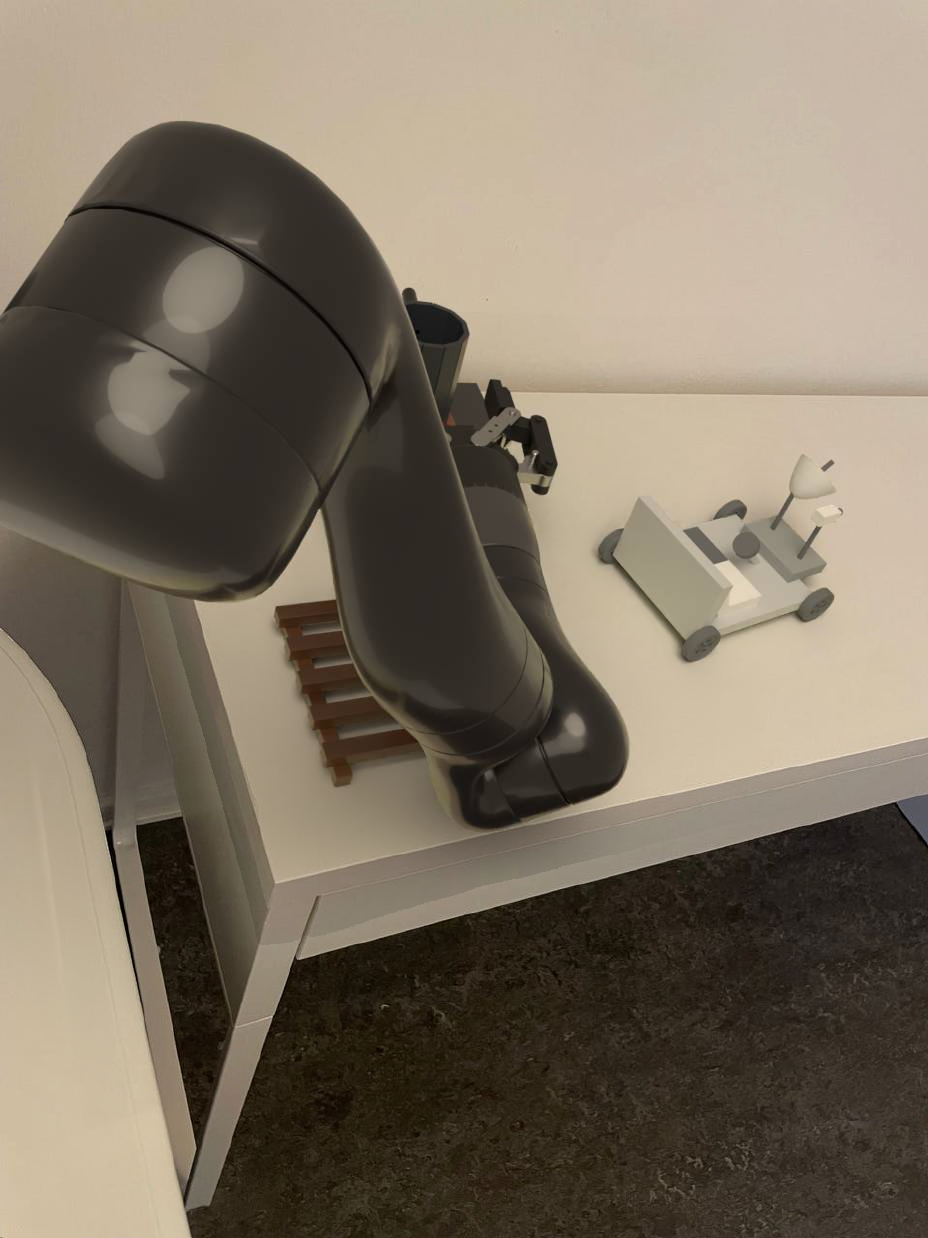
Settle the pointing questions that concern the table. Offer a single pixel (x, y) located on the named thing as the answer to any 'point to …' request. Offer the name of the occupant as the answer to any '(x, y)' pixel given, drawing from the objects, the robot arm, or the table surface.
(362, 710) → the rack
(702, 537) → the toy car
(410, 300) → the pot
